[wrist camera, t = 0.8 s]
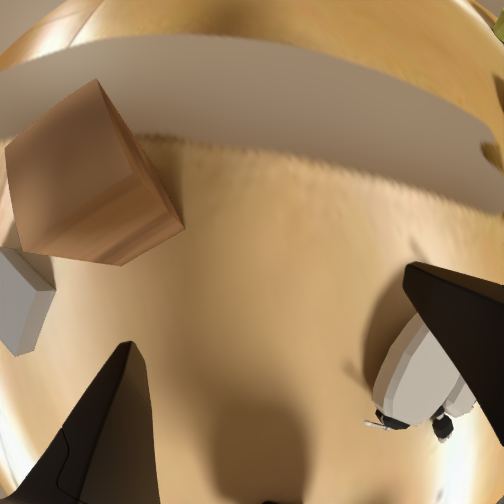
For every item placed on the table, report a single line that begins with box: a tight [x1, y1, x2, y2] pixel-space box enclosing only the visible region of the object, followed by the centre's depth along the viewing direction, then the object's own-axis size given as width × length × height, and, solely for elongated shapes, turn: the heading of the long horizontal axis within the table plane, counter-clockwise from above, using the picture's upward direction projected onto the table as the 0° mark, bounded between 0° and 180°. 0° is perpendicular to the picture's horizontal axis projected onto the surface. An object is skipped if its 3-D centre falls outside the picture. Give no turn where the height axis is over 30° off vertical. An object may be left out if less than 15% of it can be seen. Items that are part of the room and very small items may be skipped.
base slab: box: [0, 247, 56, 357], centre depth 18 cm, size 7×7×3 cm
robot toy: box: [363, 312, 477, 443], centre depth 20 cm, size 12×4×15 cm
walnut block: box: [5, 79, 185, 266], centre depth 15 cm, size 6×6×12 cm
